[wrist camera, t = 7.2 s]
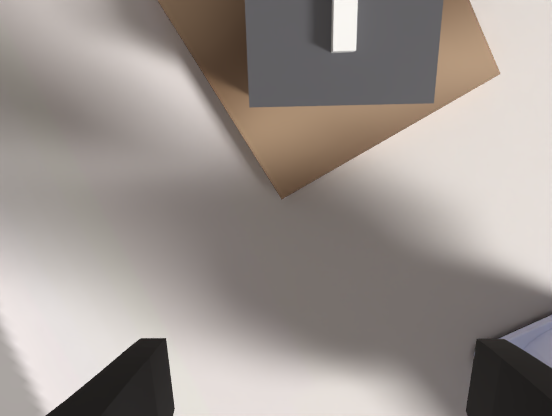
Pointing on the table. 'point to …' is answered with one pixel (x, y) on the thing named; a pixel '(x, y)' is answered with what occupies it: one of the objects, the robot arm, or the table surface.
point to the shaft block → (319, 119)
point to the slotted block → (342, 52)
